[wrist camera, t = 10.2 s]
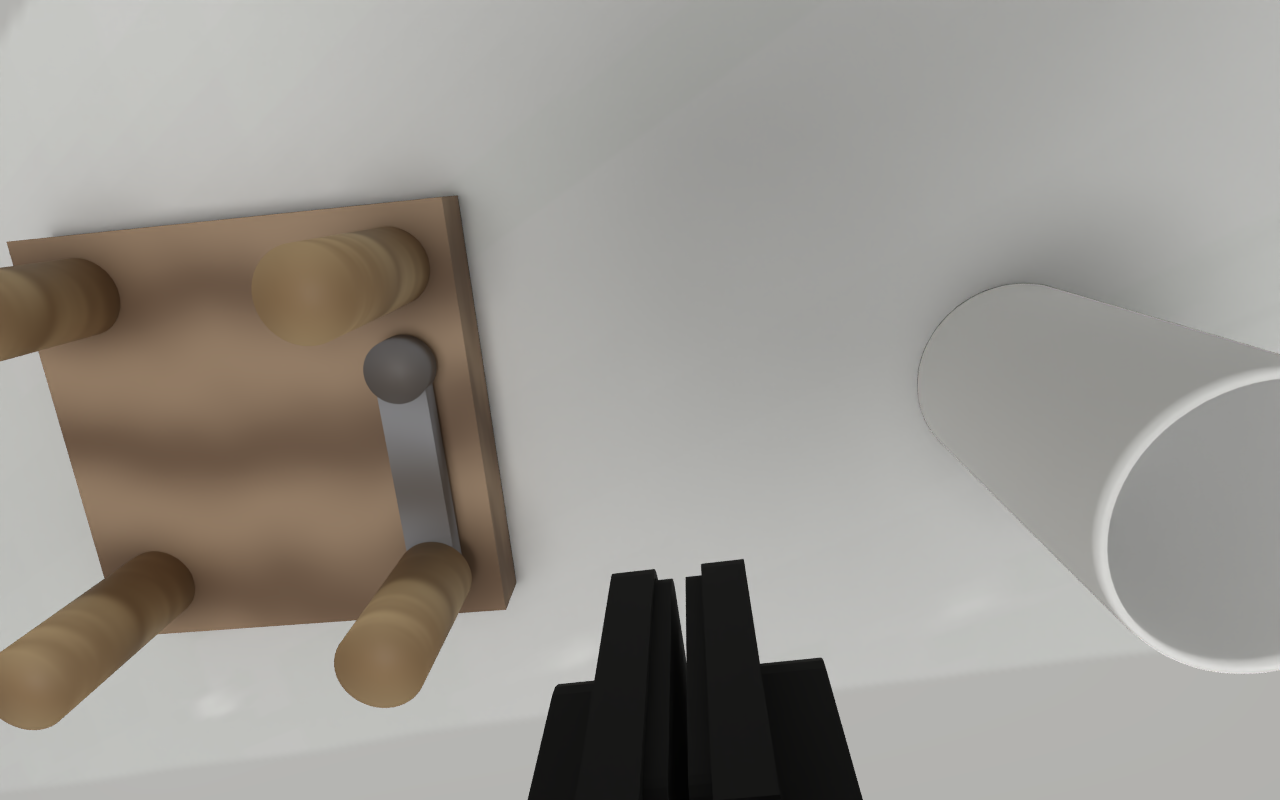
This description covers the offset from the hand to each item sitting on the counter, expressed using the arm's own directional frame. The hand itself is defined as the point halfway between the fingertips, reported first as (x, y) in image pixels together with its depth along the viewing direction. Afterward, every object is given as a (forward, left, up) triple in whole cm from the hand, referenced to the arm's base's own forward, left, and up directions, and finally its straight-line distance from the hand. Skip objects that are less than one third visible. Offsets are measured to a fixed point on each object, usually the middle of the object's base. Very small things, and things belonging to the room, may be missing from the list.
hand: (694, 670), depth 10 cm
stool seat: (+3, -18, -26) cm, 32 cm away
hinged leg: (+5, -11, -24) cm, 27 cm away
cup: (+4, +14, -27) cm, 30 cm away
